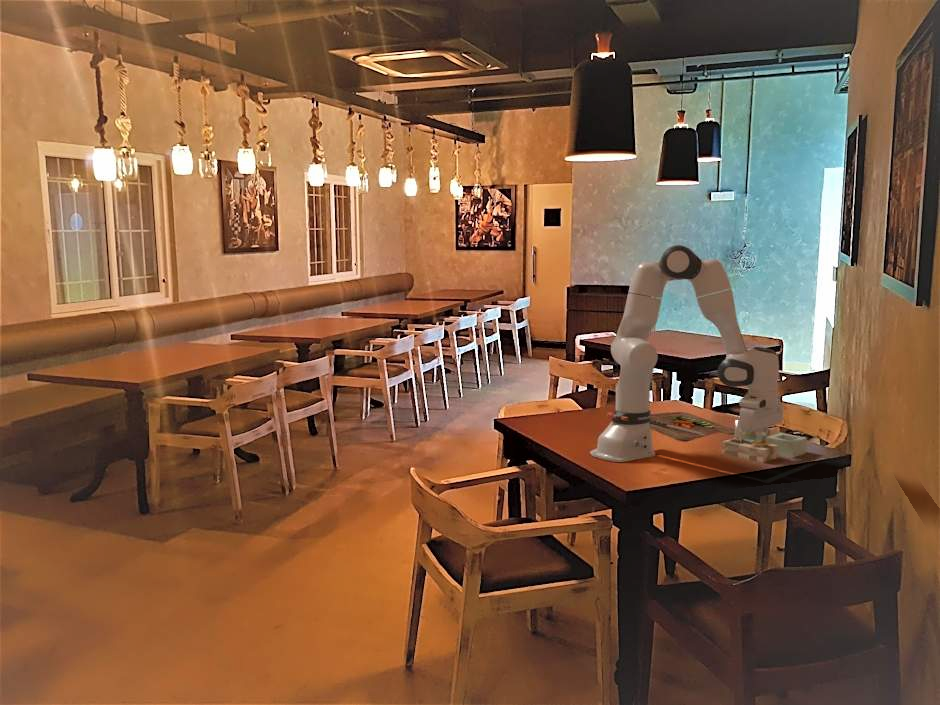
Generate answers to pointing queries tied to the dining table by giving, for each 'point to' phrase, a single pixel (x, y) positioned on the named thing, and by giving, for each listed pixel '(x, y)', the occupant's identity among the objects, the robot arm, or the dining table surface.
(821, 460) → the dining table surface
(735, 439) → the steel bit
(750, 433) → the cupcake
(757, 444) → the drift key
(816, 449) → the dining table surface
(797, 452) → the bit rack
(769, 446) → the socket block
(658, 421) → the chopping board
